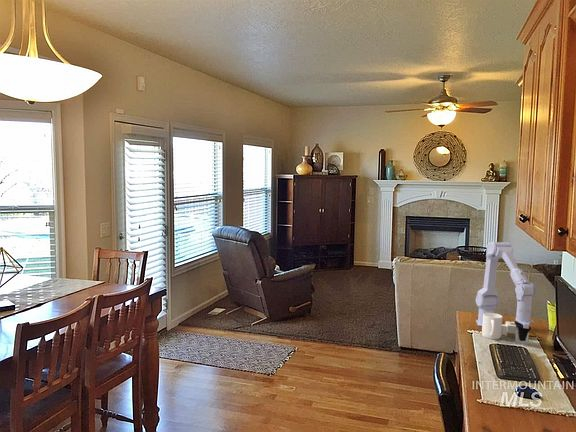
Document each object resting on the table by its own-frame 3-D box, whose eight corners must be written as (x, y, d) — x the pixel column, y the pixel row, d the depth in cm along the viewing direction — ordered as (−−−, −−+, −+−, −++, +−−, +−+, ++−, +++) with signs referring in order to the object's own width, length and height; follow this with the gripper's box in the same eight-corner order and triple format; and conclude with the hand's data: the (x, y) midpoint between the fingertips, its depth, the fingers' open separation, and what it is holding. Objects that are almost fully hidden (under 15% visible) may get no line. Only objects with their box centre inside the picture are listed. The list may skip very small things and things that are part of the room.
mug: (502, 343, 212) (503, 321, 211) (482, 340, 215) (484, 318, 214) (500, 335, 223) (501, 314, 222) (481, 332, 226) (482, 311, 225)
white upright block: (514, 342, 214) (515, 327, 214) (526, 343, 213) (527, 328, 213) (515, 343, 213) (516, 328, 212) (527, 345, 211) (528, 329, 211)
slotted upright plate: (483, 330, 230) (484, 319, 230) (525, 334, 226) (526, 323, 225) (485, 334, 224) (486, 323, 223) (528, 339, 219) (529, 327, 218)
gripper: (537, 315, 203) (535, 345, 205) (529, 306, 217) (527, 335, 219) (519, 313, 205) (517, 343, 207) (513, 305, 219) (511, 333, 220)
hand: (521, 339), depth 213 cm, fingers open, 3 cm apart
